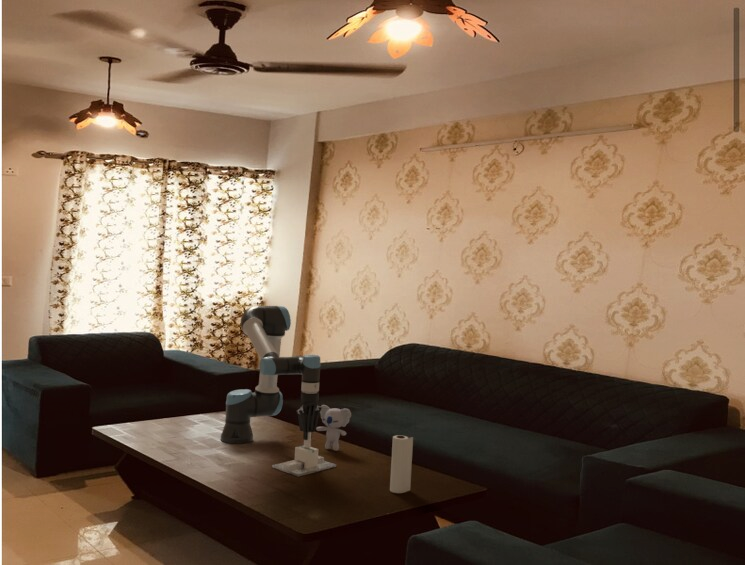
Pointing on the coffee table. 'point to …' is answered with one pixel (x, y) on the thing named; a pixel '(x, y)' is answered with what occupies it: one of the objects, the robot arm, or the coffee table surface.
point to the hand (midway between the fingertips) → (307, 447)
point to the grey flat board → (300, 470)
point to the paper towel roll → (401, 464)
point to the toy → (333, 424)
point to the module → (307, 456)
